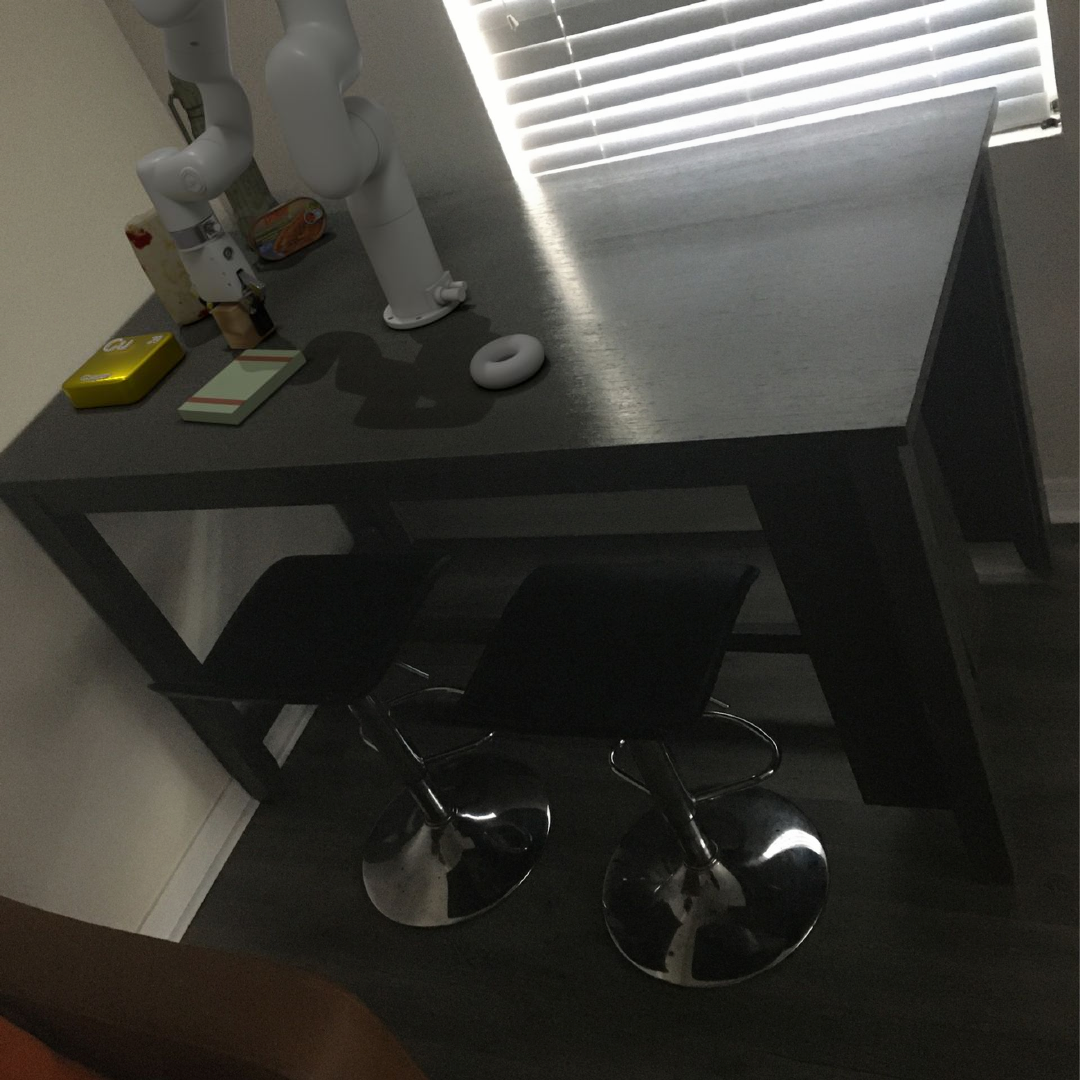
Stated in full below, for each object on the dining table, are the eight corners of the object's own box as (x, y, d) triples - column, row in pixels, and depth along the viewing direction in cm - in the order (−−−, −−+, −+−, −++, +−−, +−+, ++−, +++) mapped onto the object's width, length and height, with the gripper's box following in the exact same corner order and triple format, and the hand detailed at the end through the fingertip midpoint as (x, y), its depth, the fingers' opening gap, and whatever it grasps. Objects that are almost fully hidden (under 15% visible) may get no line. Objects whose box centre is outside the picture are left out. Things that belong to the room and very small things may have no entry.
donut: (463, 378, 143) (494, 403, 135) (454, 356, 141) (484, 379, 133) (527, 343, 145) (561, 366, 137) (519, 321, 143) (553, 342, 135)
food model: (183, 334, 186) (122, 227, 174) (171, 325, 191) (111, 221, 179) (232, 306, 189) (175, 199, 177) (219, 299, 194) (162, 194, 182)
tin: (264, 268, 199) (243, 226, 194) (259, 264, 202) (238, 222, 197) (334, 231, 203) (315, 189, 198) (329, 228, 205) (310, 186, 200)
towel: (306, 361, 162) (300, 349, 160) (238, 424, 152) (231, 412, 151) (252, 360, 168) (246, 348, 167) (183, 420, 159) (176, 409, 158)
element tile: (70, 410, 175) (53, 385, 172) (124, 359, 185) (109, 335, 182) (138, 404, 169) (121, 378, 166) (190, 352, 179) (175, 327, 176)
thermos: (303, 228, 210) (218, 45, 189) (249, 256, 207) (157, 73, 186) (289, 219, 217) (205, 42, 196) (237, 246, 214) (146, 68, 193)
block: (275, 328, 175) (255, 290, 171) (251, 349, 172) (231, 310, 167) (254, 328, 178) (234, 291, 174) (231, 348, 174) (210, 311, 170)
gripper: (250, 216, 161) (301, 319, 171) (176, 222, 171) (228, 319, 181) (218, 241, 157) (271, 344, 167) (143, 246, 166) (198, 343, 177)
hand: (248, 330), depth 174 cm, fingers open, 7 cm apart
